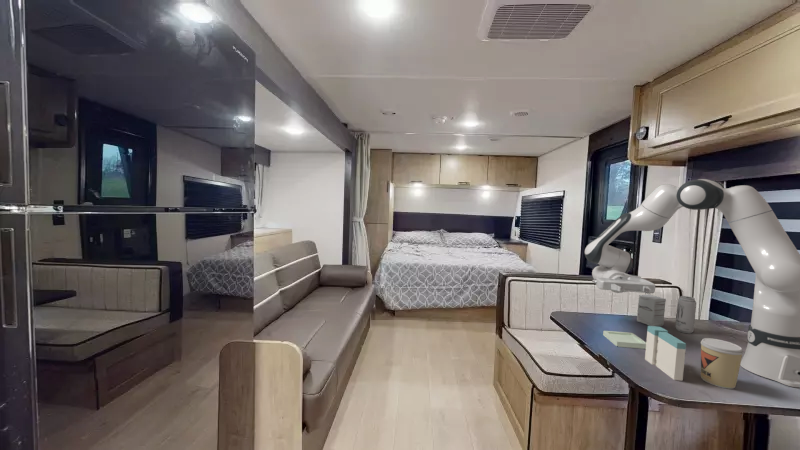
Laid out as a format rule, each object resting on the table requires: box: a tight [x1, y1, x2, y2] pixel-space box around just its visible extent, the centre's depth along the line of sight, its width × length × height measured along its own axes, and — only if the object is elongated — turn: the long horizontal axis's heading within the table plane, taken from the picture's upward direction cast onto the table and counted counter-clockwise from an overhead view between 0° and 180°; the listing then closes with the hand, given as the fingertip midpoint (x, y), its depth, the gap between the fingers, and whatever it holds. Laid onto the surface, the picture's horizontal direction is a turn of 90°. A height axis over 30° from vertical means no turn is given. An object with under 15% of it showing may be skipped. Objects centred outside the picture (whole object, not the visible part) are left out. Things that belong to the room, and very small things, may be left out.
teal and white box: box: [655, 332, 687, 382], centre depth 106 cm, size 3×9×12 cm, turn 172°
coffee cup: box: [700, 337, 744, 390], centre depth 101 cm, size 9×9×12 cm
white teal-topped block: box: [644, 325, 669, 366], centre depth 113 cm, size 4×4×12 cm
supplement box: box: [636, 293, 667, 327], centre depth 151 cm, size 7×7×13 cm
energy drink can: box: [675, 295, 697, 334], centre depth 142 cm, size 6×6×15 cm
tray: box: [602, 330, 646, 350], centre depth 130 cm, size 11×11×2 cm
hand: (635, 290), depth 125 cm, fingers open, 8 cm apart
